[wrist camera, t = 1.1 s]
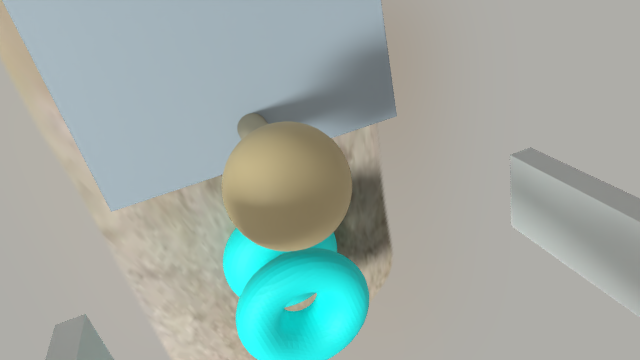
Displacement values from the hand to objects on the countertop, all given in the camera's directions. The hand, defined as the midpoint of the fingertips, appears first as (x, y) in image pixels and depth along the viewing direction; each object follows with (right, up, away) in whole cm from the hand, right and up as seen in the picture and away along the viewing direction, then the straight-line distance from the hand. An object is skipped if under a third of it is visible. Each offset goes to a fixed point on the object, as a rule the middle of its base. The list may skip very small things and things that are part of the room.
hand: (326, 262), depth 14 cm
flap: (-6, +13, +7) cm, 16 cm away
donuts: (-4, -4, +27) cm, 28 cm away
